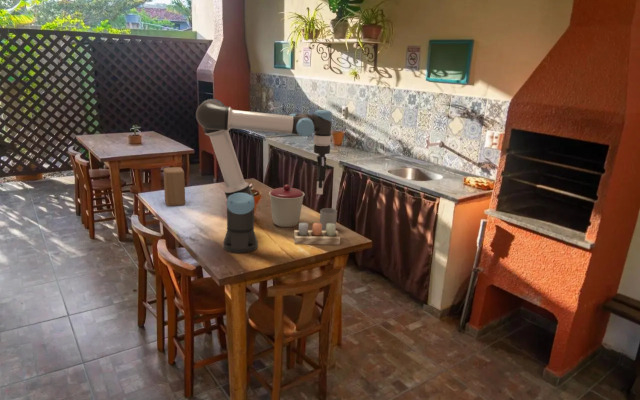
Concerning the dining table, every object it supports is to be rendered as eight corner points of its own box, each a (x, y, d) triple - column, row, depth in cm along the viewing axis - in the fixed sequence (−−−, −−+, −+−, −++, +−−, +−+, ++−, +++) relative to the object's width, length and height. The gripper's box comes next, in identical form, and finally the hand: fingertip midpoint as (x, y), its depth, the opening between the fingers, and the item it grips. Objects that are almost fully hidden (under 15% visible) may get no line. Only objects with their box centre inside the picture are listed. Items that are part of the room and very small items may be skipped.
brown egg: (312, 235, 210) (313, 225, 209) (311, 232, 215) (312, 222, 213) (321, 236, 211) (322, 226, 209) (321, 232, 215) (321, 222, 214)
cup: (317, 227, 231) (318, 208, 228) (331, 225, 234) (333, 207, 231) (323, 232, 223) (324, 213, 221) (338, 231, 226) (339, 212, 223)
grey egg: (298, 235, 210) (299, 225, 208) (298, 232, 214) (298, 222, 212) (308, 235, 210) (308, 225, 209) (307, 232, 214) (307, 222, 213)
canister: (261, 225, 229) (261, 185, 223) (280, 216, 245) (281, 178, 239) (291, 232, 221) (293, 191, 215) (309, 222, 237) (311, 183, 231)
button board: (294, 243, 208) (295, 237, 207) (293, 236, 217) (294, 230, 216) (339, 244, 210) (340, 238, 209) (337, 236, 219) (337, 230, 219)
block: (164, 201, 258) (163, 167, 252) (182, 200, 262) (181, 166, 256) (167, 206, 249) (165, 171, 244) (185, 205, 254) (184, 170, 248)
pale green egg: (326, 236, 211) (327, 226, 210) (325, 232, 215) (325, 222, 214) (335, 236, 212) (336, 226, 210) (334, 232, 216) (335, 223, 214)
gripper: (332, 147, 201) (329, 197, 208) (328, 142, 213) (325, 190, 220) (315, 146, 200) (313, 197, 207) (312, 141, 212) (310, 189, 219)
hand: (319, 193), depth 213 cm, fingers closed
